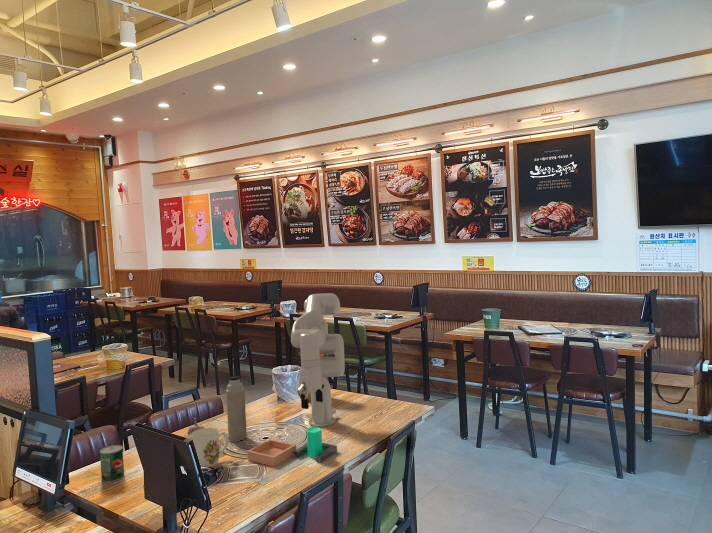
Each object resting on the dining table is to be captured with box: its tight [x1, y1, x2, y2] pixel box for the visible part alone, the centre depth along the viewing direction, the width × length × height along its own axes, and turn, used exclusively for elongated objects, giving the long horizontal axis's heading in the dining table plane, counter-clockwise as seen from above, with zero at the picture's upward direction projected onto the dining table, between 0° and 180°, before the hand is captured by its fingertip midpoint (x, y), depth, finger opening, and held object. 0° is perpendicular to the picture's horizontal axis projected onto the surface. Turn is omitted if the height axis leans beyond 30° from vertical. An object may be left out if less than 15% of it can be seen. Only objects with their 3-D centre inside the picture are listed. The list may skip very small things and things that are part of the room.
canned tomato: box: [99, 444, 125, 483], centre depth 194 cm, size 8×8×11 cm
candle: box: [306, 426, 323, 459], centre depth 208 cm, size 6×6×12 cm
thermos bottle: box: [225, 375, 248, 442], centre depth 228 cm, size 8×8×28 cm
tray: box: [246, 438, 297, 467], centre depth 208 cm, size 14×14×4 cm
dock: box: [293, 442, 338, 464], centre depth 208 cm, size 12×13×2 cm
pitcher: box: [186, 427, 229, 468], centre depth 203 cm, size 11×18×14 cm, turn 138°
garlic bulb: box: [187, 417, 205, 436], centre depth 235 cm, size 8×7×8 cm
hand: (312, 404), depth 207 cm, fingers open, 9 cm apart
